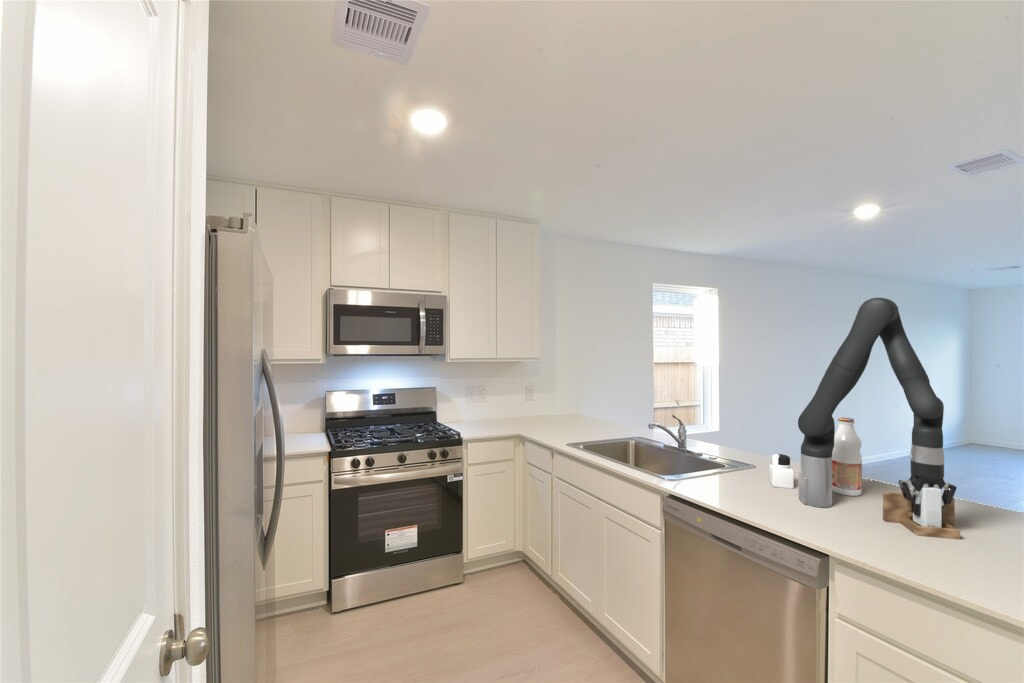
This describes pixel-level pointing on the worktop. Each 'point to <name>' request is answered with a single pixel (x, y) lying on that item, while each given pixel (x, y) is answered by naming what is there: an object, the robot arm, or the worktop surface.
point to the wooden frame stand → (902, 513)
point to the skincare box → (930, 508)
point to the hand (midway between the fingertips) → (926, 515)
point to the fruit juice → (846, 460)
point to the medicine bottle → (781, 472)
